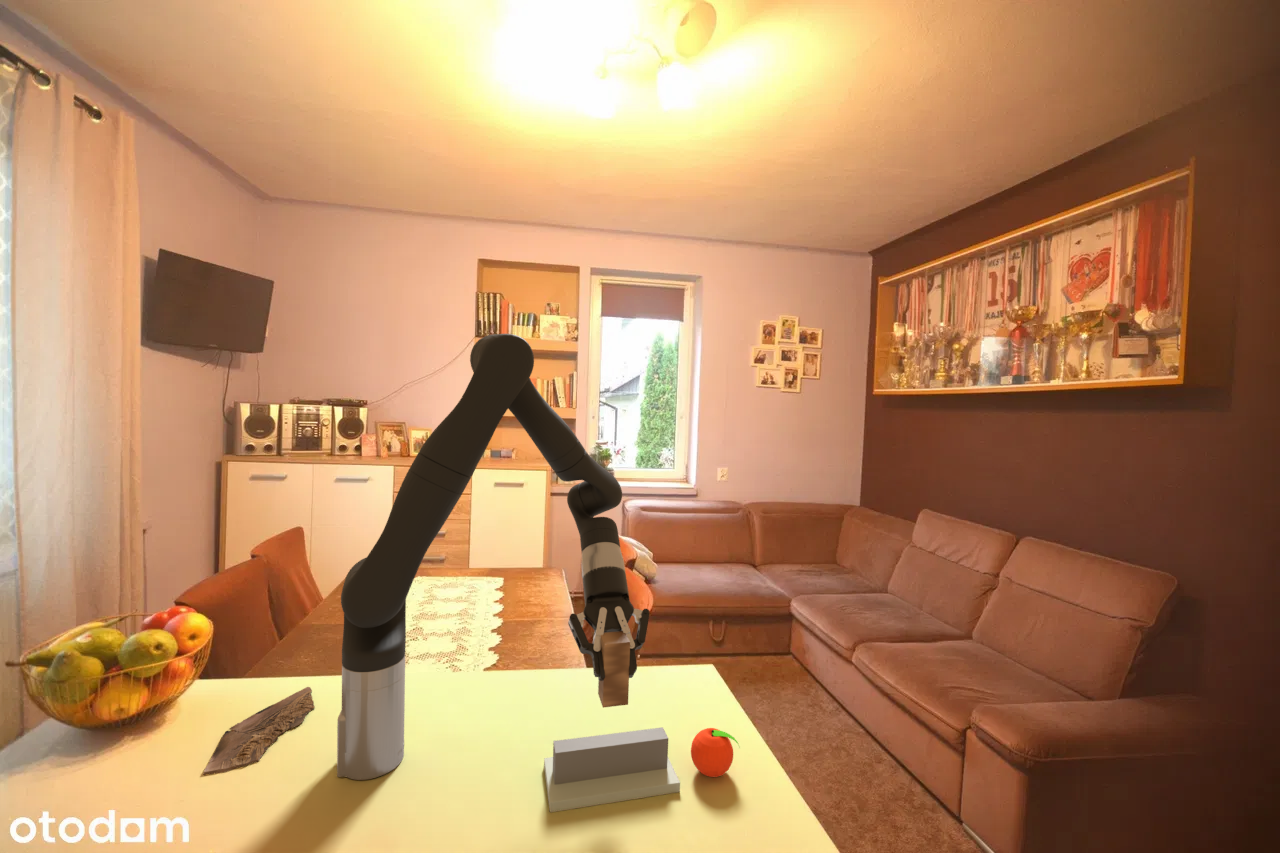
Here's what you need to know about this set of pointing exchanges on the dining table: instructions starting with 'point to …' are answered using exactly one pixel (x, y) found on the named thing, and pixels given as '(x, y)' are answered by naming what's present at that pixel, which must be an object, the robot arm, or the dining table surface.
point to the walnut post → (615, 669)
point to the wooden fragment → (259, 732)
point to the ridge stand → (609, 769)
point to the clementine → (712, 752)
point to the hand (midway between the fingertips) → (616, 677)
